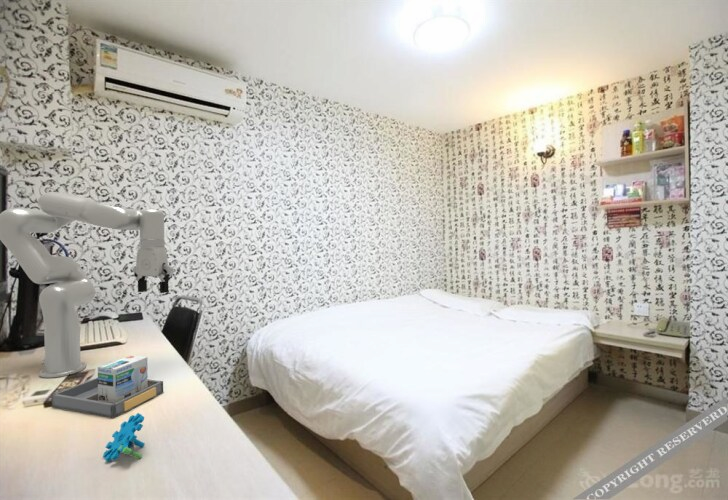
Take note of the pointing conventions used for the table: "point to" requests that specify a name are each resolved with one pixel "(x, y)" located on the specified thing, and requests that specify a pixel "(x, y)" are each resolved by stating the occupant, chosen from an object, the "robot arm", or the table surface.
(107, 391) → the light bulb box
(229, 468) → the table surface
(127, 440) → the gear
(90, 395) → the bay tray
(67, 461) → the table surface
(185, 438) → the table surface
